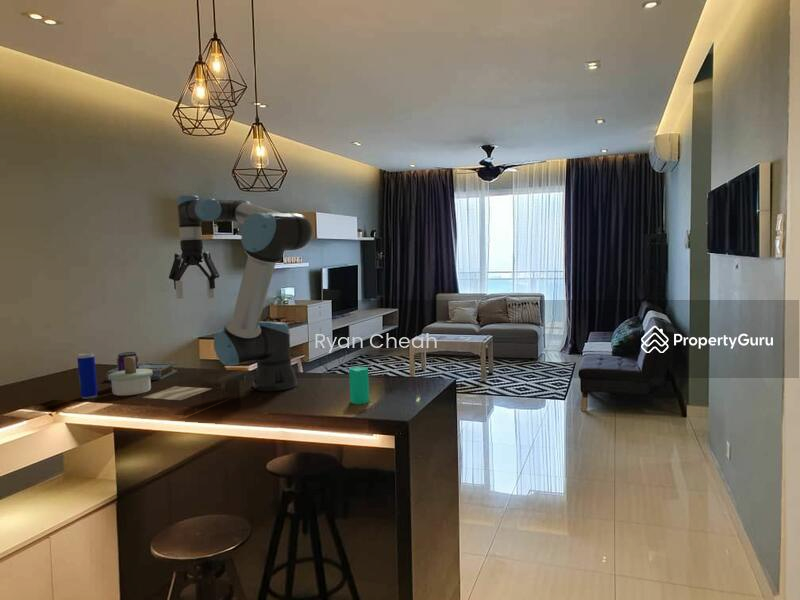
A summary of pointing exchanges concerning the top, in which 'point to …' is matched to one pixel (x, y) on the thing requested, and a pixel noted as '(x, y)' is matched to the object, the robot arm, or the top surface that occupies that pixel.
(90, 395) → the beverage can
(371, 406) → the top surface
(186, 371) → the top surface
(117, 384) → the bowl
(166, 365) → the book
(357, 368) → the candle
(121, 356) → the beverage can
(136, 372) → the lid
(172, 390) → the trivet
